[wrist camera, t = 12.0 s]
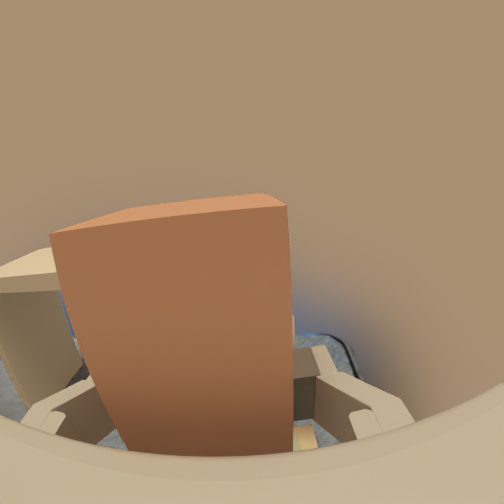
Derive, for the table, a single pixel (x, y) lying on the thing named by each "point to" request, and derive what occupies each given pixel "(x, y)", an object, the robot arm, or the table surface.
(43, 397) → the folded cream panel
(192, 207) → the pillar
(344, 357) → the table surface
